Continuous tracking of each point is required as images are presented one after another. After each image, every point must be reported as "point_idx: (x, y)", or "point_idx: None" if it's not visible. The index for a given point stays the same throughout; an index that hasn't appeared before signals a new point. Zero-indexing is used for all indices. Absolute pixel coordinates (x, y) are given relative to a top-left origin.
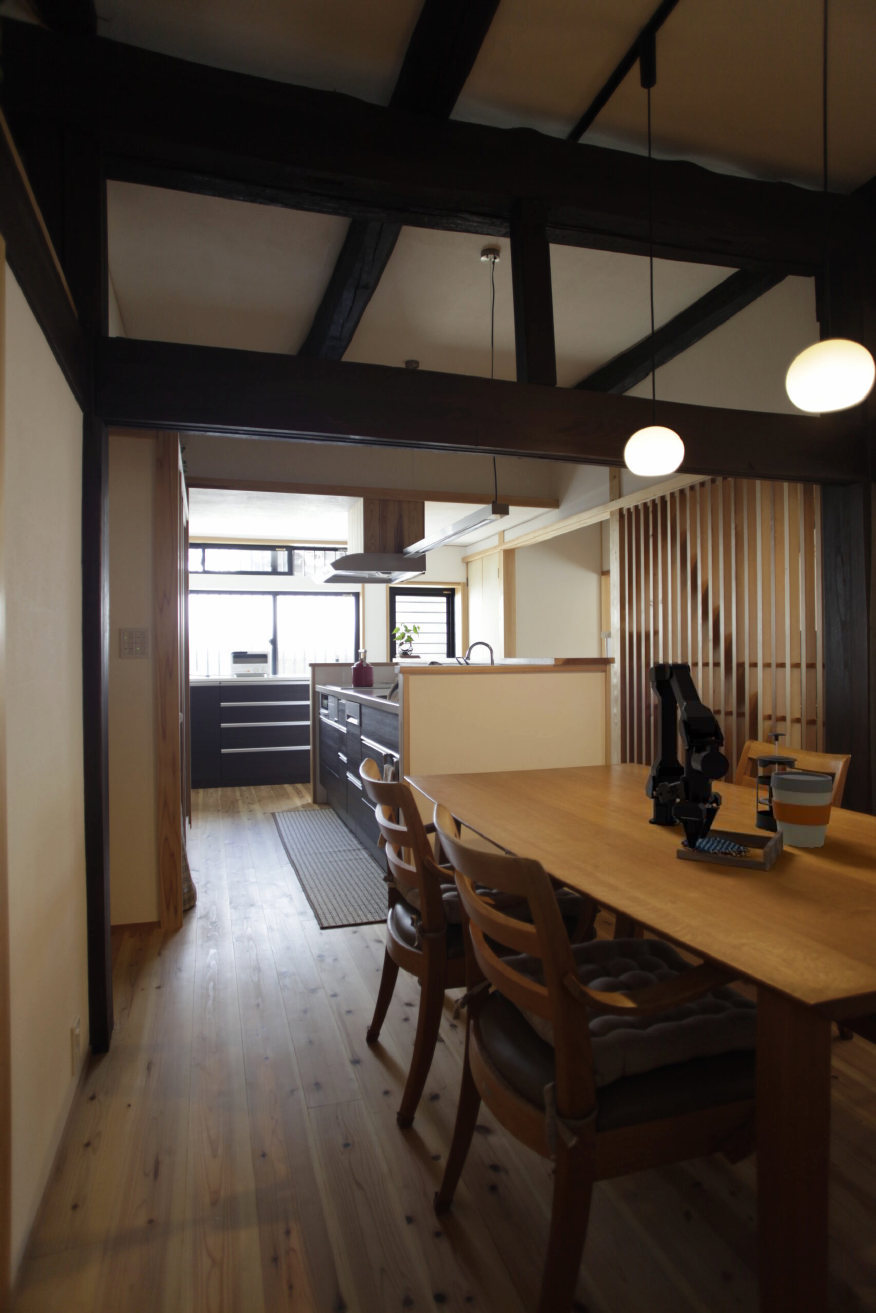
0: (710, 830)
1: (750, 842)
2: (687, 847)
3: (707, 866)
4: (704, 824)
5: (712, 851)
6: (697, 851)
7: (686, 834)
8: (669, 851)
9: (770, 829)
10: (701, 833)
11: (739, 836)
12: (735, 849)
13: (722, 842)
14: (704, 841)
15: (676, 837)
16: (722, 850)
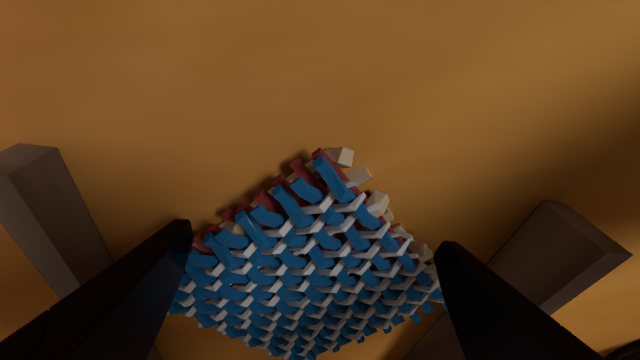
0: (543, 293)
1: (433, 345)
2: (289, 182)
3: (18, 274)
4: (490, 350)
5: (172, 303)
6: (196, 239)
7: (68, 301)
8: (137, 75)
9: (631, 350)
10: (458, 272)
11: (458, 348)
12: (260, 346)
13: (359, 316)
14: (336, 273)
15: (610, 76)
16: (223, 322)
